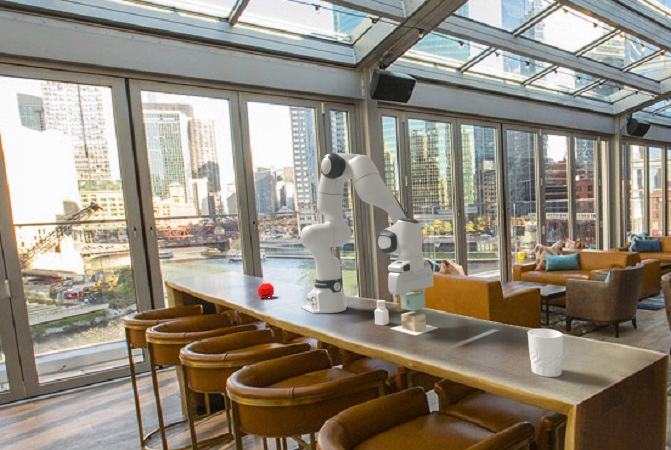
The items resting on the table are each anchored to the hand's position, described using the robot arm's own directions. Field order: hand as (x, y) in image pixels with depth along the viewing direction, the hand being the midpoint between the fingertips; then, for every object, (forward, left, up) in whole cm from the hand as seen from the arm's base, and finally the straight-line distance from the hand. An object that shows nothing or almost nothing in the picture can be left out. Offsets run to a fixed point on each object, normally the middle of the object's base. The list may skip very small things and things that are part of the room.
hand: (412, 303), depth 143 cm
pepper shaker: (-13, -3, -10) cm, 17 cm away
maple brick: (0, 0, -9) cm, 9 cm away
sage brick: (0, 0, -2) cm, 2 cm away
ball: (-98, -6, -10) cm, 99 cm away
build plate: (0, 0, -10) cm, 10 cm away
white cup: (+48, -5, -10) cm, 49 cm away
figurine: (-21, +15, -10) cm, 28 cm away
